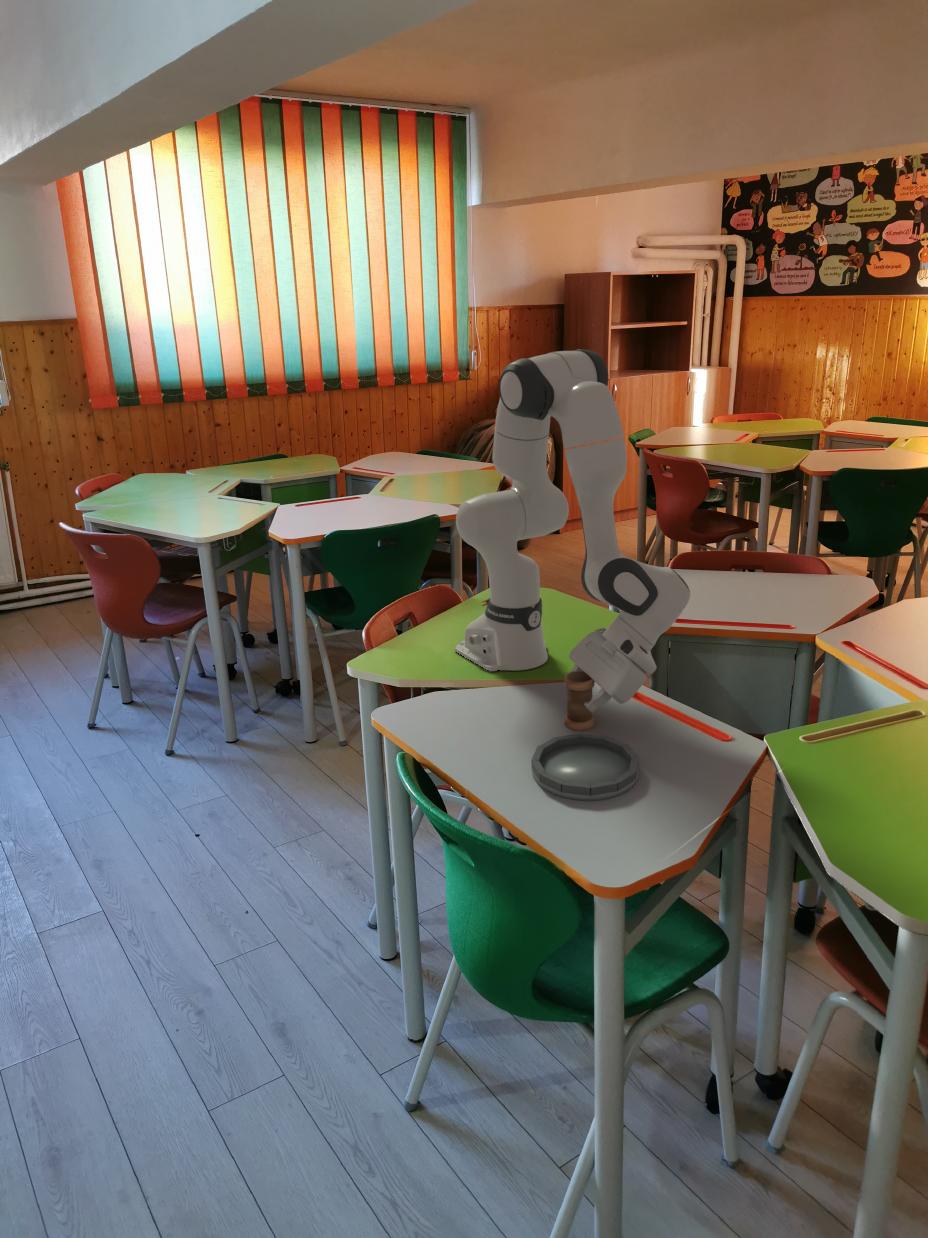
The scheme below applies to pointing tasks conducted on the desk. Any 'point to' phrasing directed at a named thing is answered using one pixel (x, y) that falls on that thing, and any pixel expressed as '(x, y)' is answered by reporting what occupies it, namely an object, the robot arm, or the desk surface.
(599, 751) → the round dish
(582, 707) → the brown flared cylinder
